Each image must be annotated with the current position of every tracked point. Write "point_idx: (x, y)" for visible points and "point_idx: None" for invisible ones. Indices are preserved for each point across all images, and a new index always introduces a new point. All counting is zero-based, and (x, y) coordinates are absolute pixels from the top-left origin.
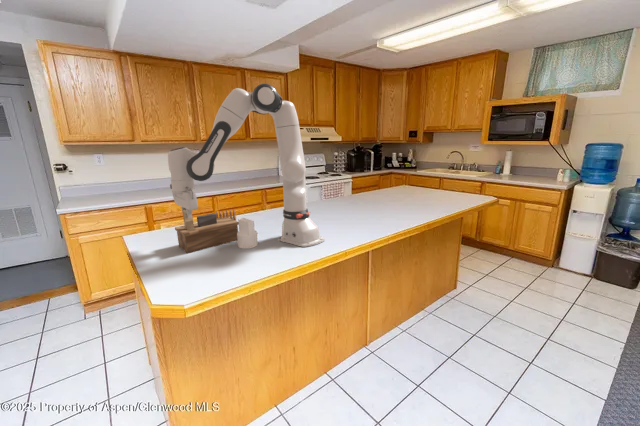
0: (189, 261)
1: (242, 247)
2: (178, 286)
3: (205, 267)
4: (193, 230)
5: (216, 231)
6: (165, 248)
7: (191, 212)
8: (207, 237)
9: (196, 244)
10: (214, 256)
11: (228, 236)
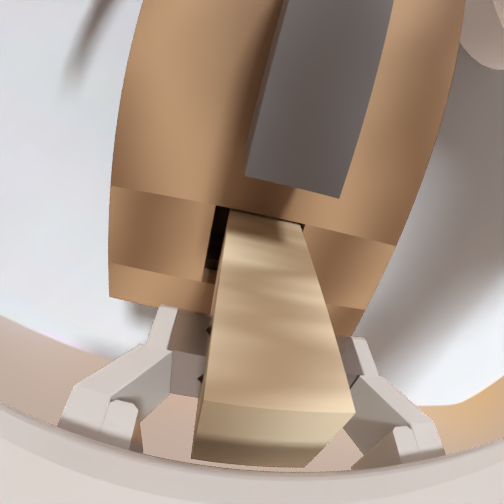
0: (398, 294)
1: (499, 69)
2: (467, 369)
3: (479, 287)
4: (350, 264)
5: None
6: None
7: (396, 397)
8: None
9: None
10: (458, 206)
11: None
